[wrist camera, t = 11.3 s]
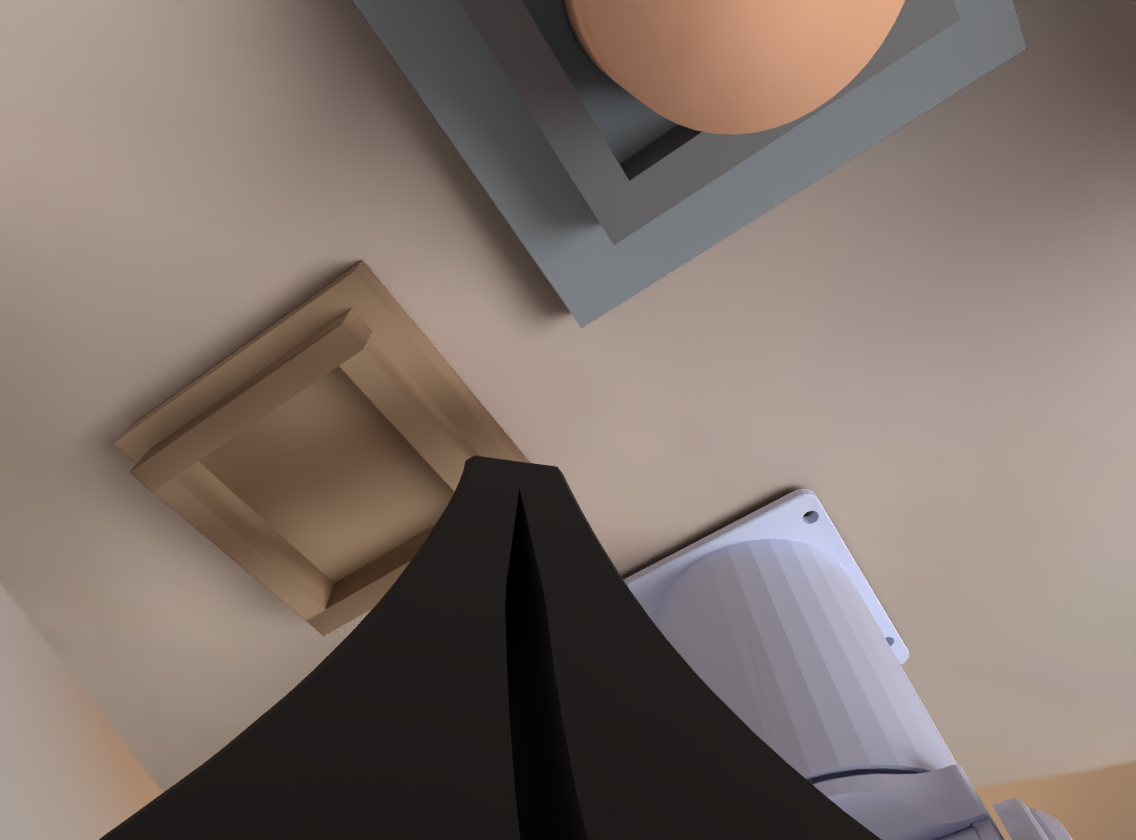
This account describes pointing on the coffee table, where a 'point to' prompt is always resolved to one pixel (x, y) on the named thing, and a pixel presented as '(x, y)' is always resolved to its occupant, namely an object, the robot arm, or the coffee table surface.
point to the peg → (731, 54)
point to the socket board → (650, 132)
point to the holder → (320, 449)
